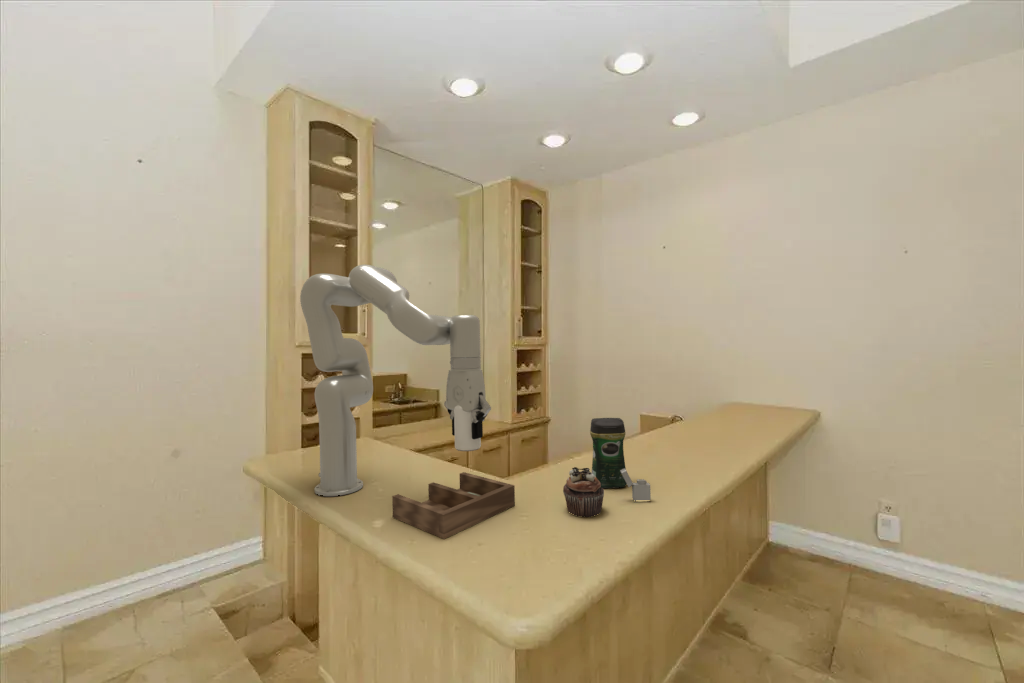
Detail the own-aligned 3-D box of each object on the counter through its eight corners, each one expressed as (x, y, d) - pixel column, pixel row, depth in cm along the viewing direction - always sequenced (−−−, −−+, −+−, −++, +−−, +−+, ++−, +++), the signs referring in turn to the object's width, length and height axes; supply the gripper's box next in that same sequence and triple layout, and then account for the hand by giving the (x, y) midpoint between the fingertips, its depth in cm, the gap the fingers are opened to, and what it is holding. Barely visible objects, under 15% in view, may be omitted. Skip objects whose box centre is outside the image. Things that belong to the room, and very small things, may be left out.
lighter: (648, 499, 109) (648, 467, 109) (650, 502, 108) (650, 469, 107) (620, 499, 110) (619, 468, 110) (621, 502, 108) (621, 470, 108)
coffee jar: (623, 479, 125) (621, 415, 125) (629, 489, 117) (628, 420, 117) (589, 480, 125) (587, 415, 125) (593, 489, 117) (592, 420, 117)
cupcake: (610, 517, 99) (609, 473, 99) (568, 520, 98) (567, 475, 98) (598, 502, 108) (597, 462, 108) (560, 504, 108) (559, 463, 107)
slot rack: (392, 517, 101) (392, 496, 101) (464, 490, 119) (463, 472, 119) (444, 539, 90) (443, 514, 90) (514, 505, 107) (514, 485, 107)
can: (482, 445, 112) (481, 398, 112) (478, 451, 105) (477, 402, 105) (458, 445, 112) (457, 398, 112) (452, 451, 106) (451, 402, 106)
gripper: (431, 364, 111) (433, 434, 111) (480, 366, 100) (481, 444, 100) (453, 363, 117) (455, 429, 117) (501, 364, 106) (503, 438, 106)
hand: (467, 435), depth 109 cm, fingers closed on can, 6 cm apart
